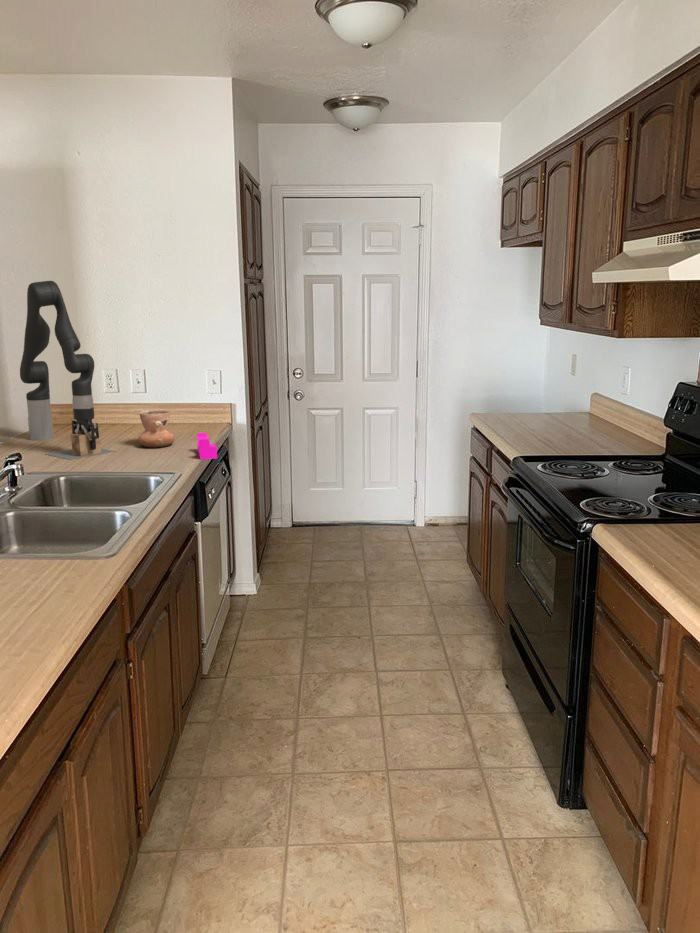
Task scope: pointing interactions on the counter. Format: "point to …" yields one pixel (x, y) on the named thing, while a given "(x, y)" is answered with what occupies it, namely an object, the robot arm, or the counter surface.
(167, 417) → the ceramic jug
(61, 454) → the grey mat
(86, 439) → the walnut block
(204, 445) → the toy block
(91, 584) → the counter surface
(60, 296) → the robot arm
